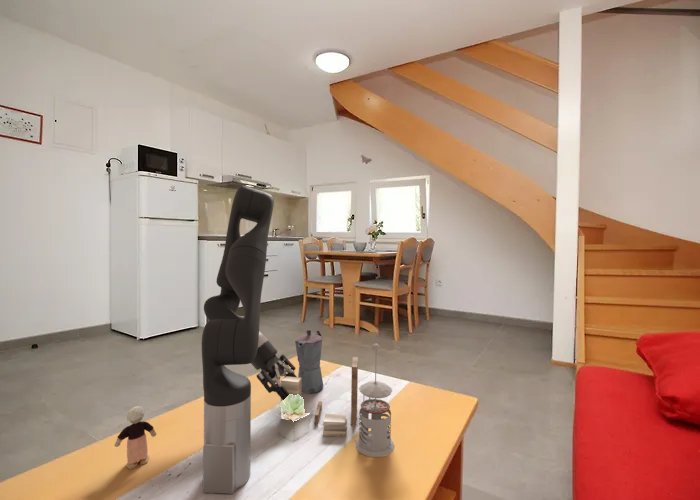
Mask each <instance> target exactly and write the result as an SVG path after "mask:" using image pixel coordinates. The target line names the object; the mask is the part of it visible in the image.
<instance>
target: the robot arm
mask: <svg viewBox="0 0 700 500" xmlns="http://www.w3.org/2000/svg"><path fill="white" fill-rule="evenodd" d="M274 203H275V202H274V198H273V196H272V194H270V193H268V192H265V191H262V190H260V189H256V188H253V187H250V186H246V185H241V186H239V187H238V188H237V190H236V191H235V193H234V197H233V201H232V204H231V208H230V209H231V210H230V214H229V218H228V219H229V220H228V225H227V230H226V234H225V235H226V237H225V244H224V250H223V253H222V254H223V256H222V259H221V262H220V266H219V269H218V272H217V276H216V285H217V286H218V287H219V288H220V293H219V294H217V295H214V296H210V297H209V298H207V299H206V300H205V301H204V304H203V312H204V314H205V316H206V318H207V319H208V321H207V323H205V325H204V327H203V330H202V335H201V361H202V362H201V363H202V385H203V387H202V389H203V447H202V492H203V493H213V494H235V492H236V490H237V489H239V488H240V487H242V486H244V485H245V484H246V483H247V481H248V480H249V478H250V477H251V430H252V429H251V428H252V427H251V426H252V425H251V423H252V422H251V420H252V417H251V415H252V414H251V411H252V409H251V408H252V406H251V405H252V404H251V403H252V382H251V380H250V379H249V378H248V377H247V376H245V375H242V374H241V373H236V372H234V371H232V370H231V369H230V368H229V367H226V366H237V365H241V366H242V365H249V364H251V365H252V367H253V368H254V369H255V370H256V371H259V370H260V371H259V373H257V374H256V378H257V380H258V381H259V382H260V383H261V384H262V385H263V387H264V388H265V390H266V391H267V392H268V393H269V394H271V393H272V392H274V393H276V394H277V395H278V396H279V397H280V400H281V399H282V400H284V399H285V398H286V397H287V396H288V395H289V393H288V392H287V390H286V389H285V388H284V387H283V386H281V378H282V377H285V376H288V377H298V376H297V375H296V372H295V370H296V366H295V365H293V364H292V362H291V361H290V360H289V359H288V358H287V357H286V355H284V354H281V355H280V356H279V357H278V356H277V353H278V349H276V347H275V346H273V344H272V342H270V340H269V339H267V338H268V337H266V336H265V335H264V333H262V332H261V331H260V319H261V318H260V317H261V302H262V291H263V286H264V277H265V273H266V272H265V271H266V264H267V253H268V252H267V250H268V242H269V241H268V239H269V232H270V227H271V220H272V217H273V211H274V206H275V204H274ZM243 219H244V220H246V221H250V222H253V223H256V224H255V226H254V227H253V228H252V229H250V230H249V231H248V232H246V233H245V234H244V235H242V236H241V229H240V226H241V224H240V223H241V220H243ZM240 304H241V306H242V308H243V311H244V315H239V314H237V311H238V309H239V307H240Z"/></svg>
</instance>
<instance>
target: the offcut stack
mask: <svg viewBox="0 0 700 500" xmlns="http://www.w3.org/2000/svg"><path fill="white" fill-rule="evenodd" d="M322 424H323V429H322V436H324V437H345V438H346V437H347V434H348V433H347V431H348V418H347V414H345V413H344V414H343V413H324V418H323V423H322Z"/></svg>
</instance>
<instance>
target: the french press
mask: <svg viewBox="0 0 700 500" xmlns="http://www.w3.org/2000/svg"><path fill="white" fill-rule="evenodd" d="M371 348H372V350H375V362H374V363H375V364H374V365H375V366H374V367H375V368H374V369H375V371H374V374H375V375H374V380H372V381H367V382H365V383H364V384H361V385H360V386H359V387H358V389H359V392H360V393H361V395H363V398H362V399H363V401H362V402H361V404H360V409H359V411H358V413H359V414H358V415H359V416H358V417H359V418H358V421H359V423H358V424H359V425H358V427H359V429H358V437H357V438H356V440H355V442H354V445H355V449H356V450H357V451H358V452H359V453H360V454H363V455H365V456H366V457H372V458H383V457H385V456H388V455H390V454H392V453H393V451H394V450H395V447H396V445H395V443H394V441H393V439H392V437H391V436H392V434H391V432H392V412H391V408H390V404H389V403H388V402H387V401H385V400H383V399H384V398H387V397H389V396H391V395H392V392H393V389H392V387H391V386H390V385H388V384H386V383H384V382H381V381H379V380H378V381H377V357H378V356H377V355H378V354H377V352H378V351H377V350H380V348H381V346H380V344H379V343H373V344H372V347H371ZM365 397H366V398H368V399H366V400H365ZM387 413H388V414H387ZM369 414H371V416H370V415H369ZM369 417H371V418H369ZM382 417H385V418H382ZM369 429H371V430H369Z"/></svg>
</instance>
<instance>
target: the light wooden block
mask: <svg viewBox="0 0 700 500" xmlns="http://www.w3.org/2000/svg"><path fill="white" fill-rule="evenodd" d="M280 382H281V386H283V387H284V388H285V389H286V390H287V392H288V393H289V394H293V395H297V394H299V395H300V396H301V397H302V378H298V376H297V377H288V376H283V378H281V379H280ZM281 401H282V399H281V398H280V402H281Z"/></svg>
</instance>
